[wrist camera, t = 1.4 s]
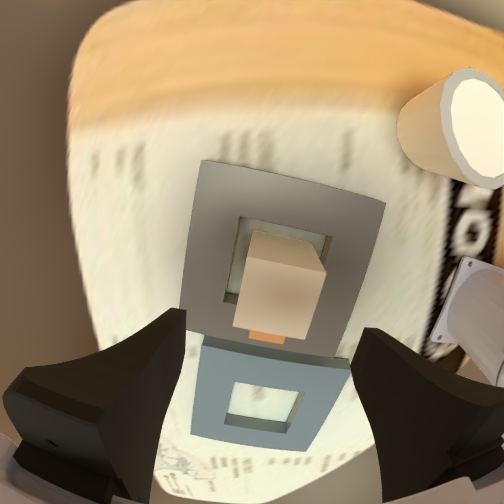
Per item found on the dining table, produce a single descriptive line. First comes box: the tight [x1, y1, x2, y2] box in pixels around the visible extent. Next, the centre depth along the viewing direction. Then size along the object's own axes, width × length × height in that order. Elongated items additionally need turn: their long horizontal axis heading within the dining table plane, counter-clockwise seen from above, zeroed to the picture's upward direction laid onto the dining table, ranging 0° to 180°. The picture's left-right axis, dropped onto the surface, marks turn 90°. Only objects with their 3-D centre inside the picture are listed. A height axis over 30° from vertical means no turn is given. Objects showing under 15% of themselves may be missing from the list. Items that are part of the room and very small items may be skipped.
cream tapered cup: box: [397, 68, 504, 189], centre depth 14 cm, size 7×7×7 cm
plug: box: [233, 230, 326, 344], centre depth 18 cm, size 4×5×6 cm
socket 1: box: [179, 160, 386, 358], centre depth 20 cm, size 12×12×2 cm
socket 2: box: [190, 335, 351, 452], centre depth 23 cm, size 12×12×2 cm
